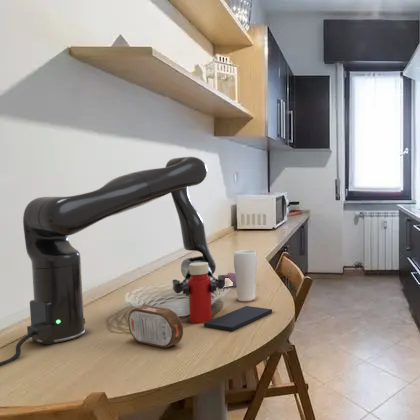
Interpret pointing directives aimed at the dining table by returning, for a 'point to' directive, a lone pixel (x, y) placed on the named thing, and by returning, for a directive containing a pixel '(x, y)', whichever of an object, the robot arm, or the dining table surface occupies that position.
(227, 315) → the rubber mat
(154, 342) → the tin
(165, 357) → the dining table surface
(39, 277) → the robot arm
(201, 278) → the squeeze bottle
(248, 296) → the drinking glass
